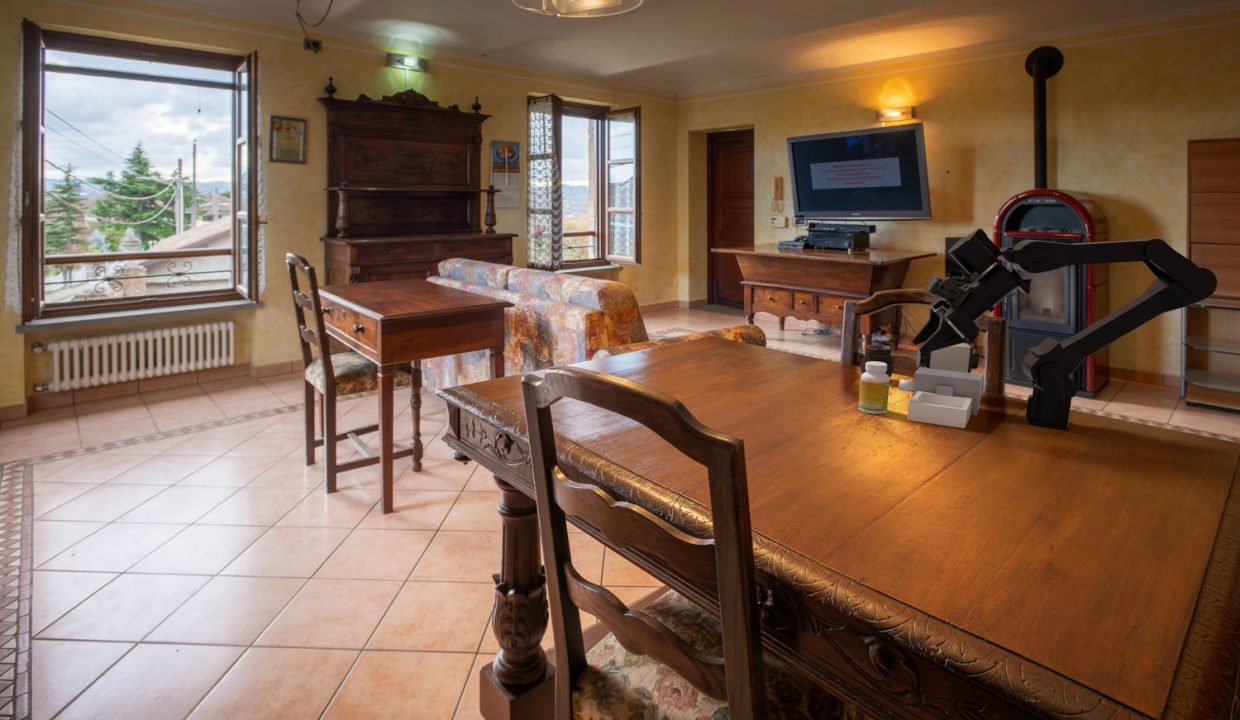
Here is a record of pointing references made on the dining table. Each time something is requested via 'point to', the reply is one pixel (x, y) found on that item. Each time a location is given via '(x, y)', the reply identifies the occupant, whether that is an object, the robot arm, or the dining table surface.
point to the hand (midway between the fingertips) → (916, 347)
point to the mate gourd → (878, 357)
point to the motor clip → (943, 396)
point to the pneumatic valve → (950, 358)
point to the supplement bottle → (874, 388)
